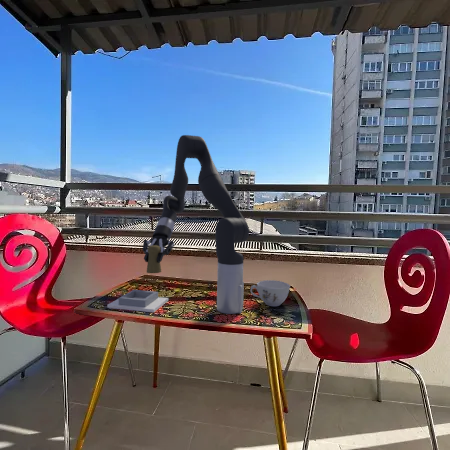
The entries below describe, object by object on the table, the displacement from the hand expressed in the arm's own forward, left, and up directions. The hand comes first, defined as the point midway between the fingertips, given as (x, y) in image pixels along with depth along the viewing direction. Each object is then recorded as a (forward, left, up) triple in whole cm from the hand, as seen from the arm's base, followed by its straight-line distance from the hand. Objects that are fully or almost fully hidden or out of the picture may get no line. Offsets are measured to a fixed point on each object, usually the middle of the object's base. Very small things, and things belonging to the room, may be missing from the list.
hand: (152, 261), depth 113 cm
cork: (0, -2, -5) cm, 5 cm away
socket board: (0, +10, -14) cm, 18 cm away
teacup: (-48, -3, -15) cm, 50 cm away
